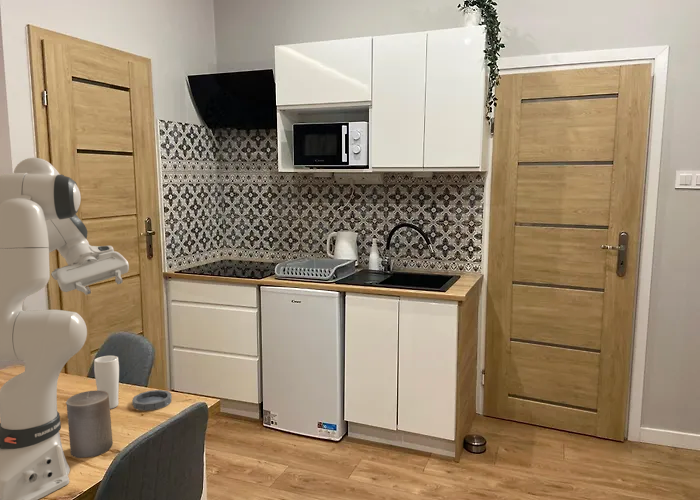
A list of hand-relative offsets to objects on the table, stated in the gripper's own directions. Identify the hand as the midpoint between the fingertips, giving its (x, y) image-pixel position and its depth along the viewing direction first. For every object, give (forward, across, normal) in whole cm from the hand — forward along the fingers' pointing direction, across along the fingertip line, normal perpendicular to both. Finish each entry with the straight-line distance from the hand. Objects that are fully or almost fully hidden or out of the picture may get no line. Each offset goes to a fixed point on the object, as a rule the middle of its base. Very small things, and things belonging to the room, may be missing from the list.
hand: (104, 287), depth 159 cm
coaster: (+26, +2, +29) cm, 39 cm away
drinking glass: (+19, -8, +30) cm, 37 cm away
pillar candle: (+38, -21, +16) cm, 47 cm away
